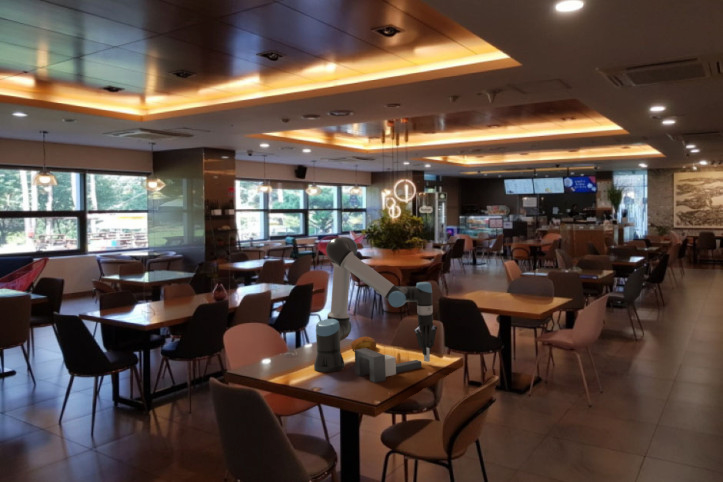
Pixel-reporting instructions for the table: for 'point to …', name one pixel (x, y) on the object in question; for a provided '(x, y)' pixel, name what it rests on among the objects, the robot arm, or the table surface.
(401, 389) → the table surface
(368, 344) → the golden lumpy mound
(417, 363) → the plug
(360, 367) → the cable tunnel
